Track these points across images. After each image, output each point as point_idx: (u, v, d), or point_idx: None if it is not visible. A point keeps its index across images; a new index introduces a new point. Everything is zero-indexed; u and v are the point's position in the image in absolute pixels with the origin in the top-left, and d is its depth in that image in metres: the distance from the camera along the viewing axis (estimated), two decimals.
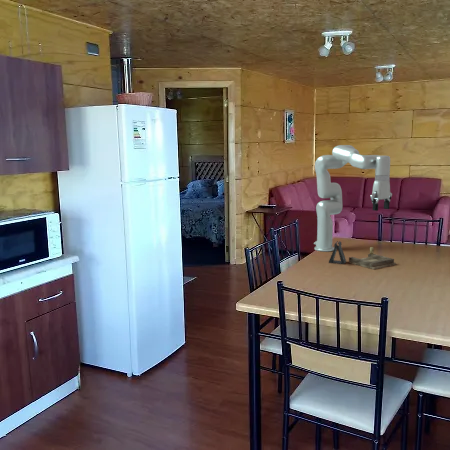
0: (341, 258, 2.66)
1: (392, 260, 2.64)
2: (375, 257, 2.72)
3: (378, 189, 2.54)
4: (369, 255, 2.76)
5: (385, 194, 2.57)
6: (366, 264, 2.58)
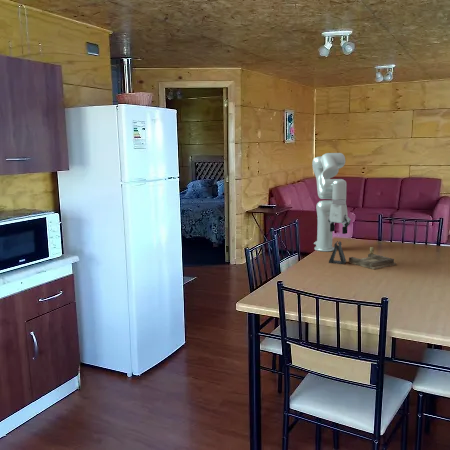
0: (341, 258, 2.66)
1: (392, 260, 2.64)
2: (375, 257, 2.72)
3: None
4: (369, 255, 2.76)
5: None
6: (366, 264, 2.58)
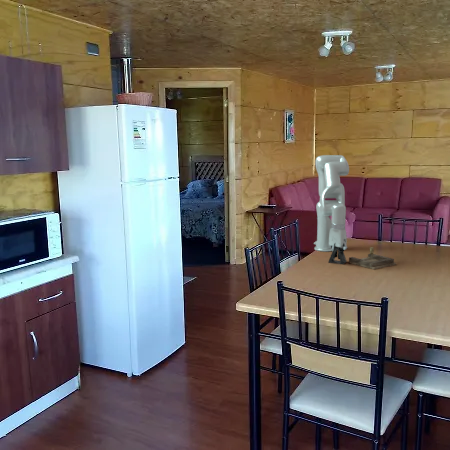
0: (340, 258, 2.66)
1: (392, 260, 2.64)
2: (375, 257, 2.72)
3: (346, 237, 2.64)
4: (369, 255, 2.76)
5: None
6: (366, 264, 2.58)
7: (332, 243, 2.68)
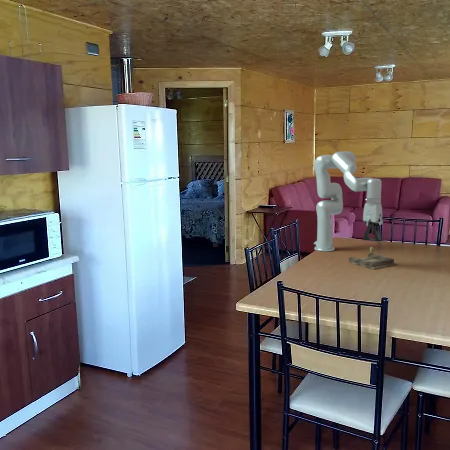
0: (375, 235, 2.59)
1: (392, 260, 2.64)
2: (375, 257, 2.72)
3: (381, 211, 2.58)
4: (369, 255, 2.76)
5: None
6: (366, 264, 2.58)
7: (367, 218, 2.62)
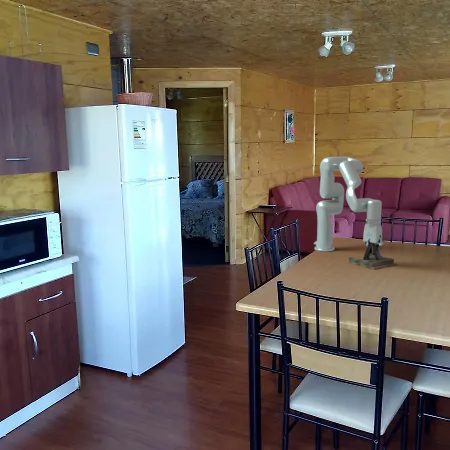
0: (375, 254, 2.61)
1: (392, 260, 2.64)
2: None
3: (381, 233, 2.60)
4: None
5: None
6: (366, 264, 2.58)
7: (367, 239, 2.64)
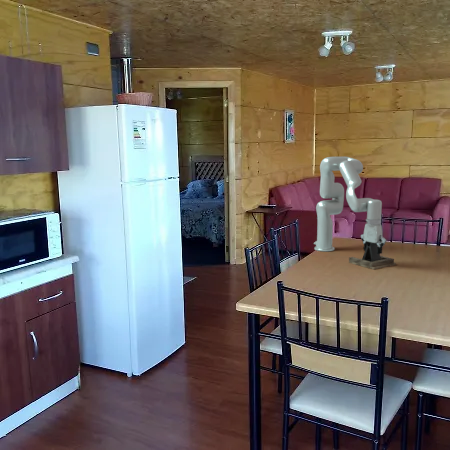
0: (372, 257, 2.63)
1: (392, 260, 2.64)
2: None
3: None
4: None
5: None
6: (366, 264, 2.58)
7: (367, 239, 2.64)
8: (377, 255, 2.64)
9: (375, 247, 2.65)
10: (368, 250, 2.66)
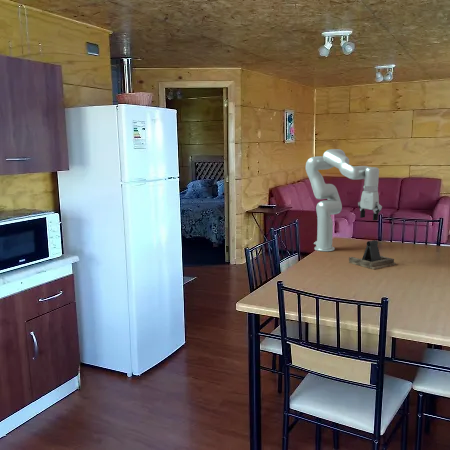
0: (372, 257, 2.63)
1: (392, 260, 2.64)
2: None
3: (378, 199, 2.66)
4: None
5: None
6: (366, 264, 2.58)
7: (364, 206, 2.70)
8: (377, 255, 2.64)
9: (375, 247, 2.65)
10: (368, 250, 2.66)
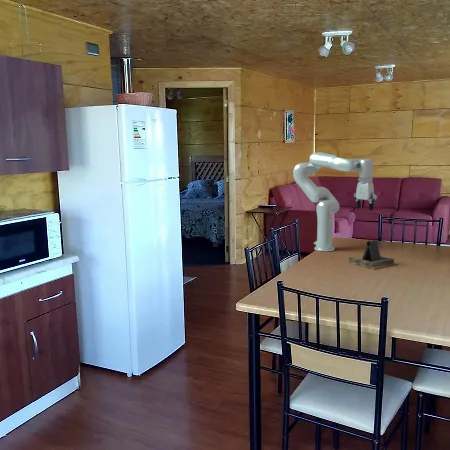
0: (372, 257, 2.63)
1: (392, 260, 2.64)
2: None
3: (373, 190, 2.76)
4: None
5: None
6: (366, 264, 2.58)
7: (359, 196, 2.80)
8: (377, 255, 2.64)
9: (375, 247, 2.65)
10: (368, 250, 2.66)
